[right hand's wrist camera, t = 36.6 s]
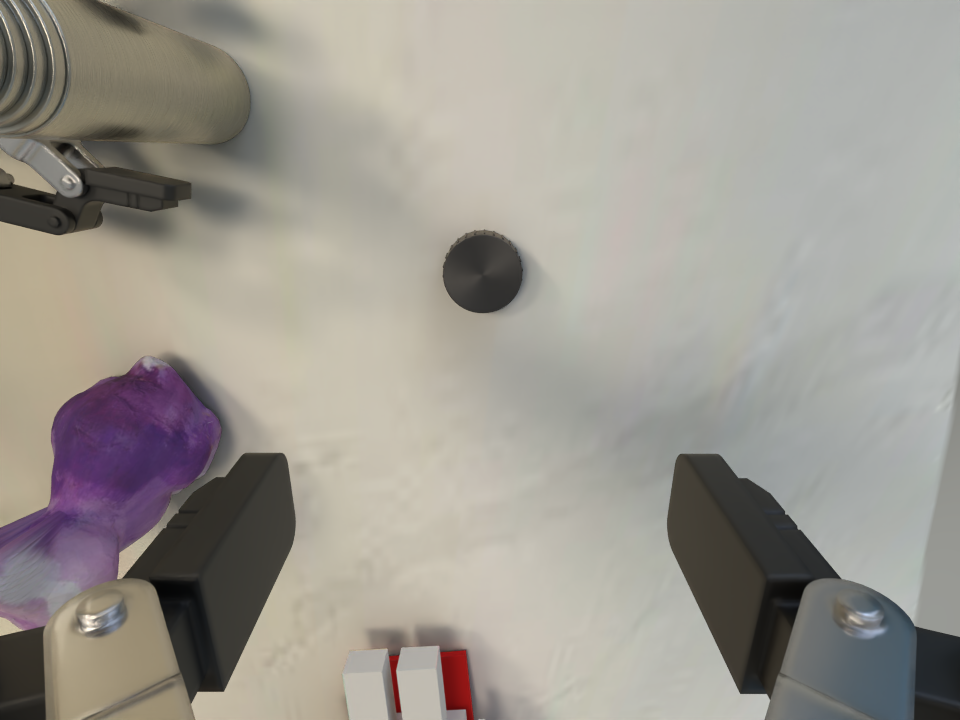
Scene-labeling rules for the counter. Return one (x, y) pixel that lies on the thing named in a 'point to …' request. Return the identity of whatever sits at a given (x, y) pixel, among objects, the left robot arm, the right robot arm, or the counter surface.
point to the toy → (407, 685)
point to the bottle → (112, 77)
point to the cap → (482, 271)
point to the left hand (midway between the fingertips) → (185, 92)
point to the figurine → (104, 486)
